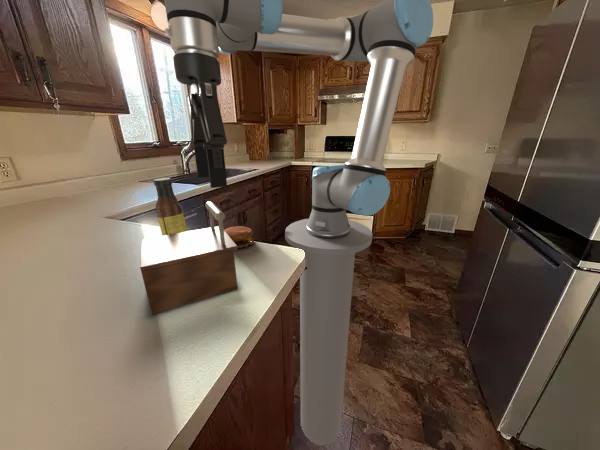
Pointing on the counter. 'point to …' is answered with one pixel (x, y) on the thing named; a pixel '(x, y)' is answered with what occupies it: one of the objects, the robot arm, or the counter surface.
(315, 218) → the robot arm
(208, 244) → the lid
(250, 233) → the burger
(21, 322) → the counter surface
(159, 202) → the sauce bottle
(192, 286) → the brown wooden box
